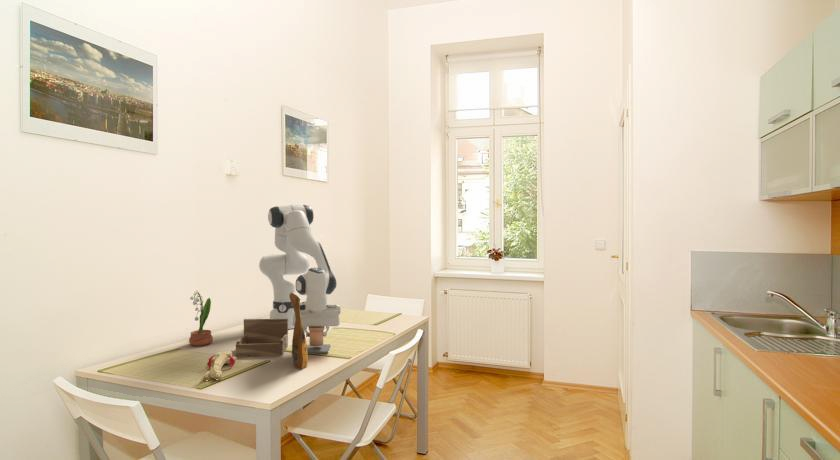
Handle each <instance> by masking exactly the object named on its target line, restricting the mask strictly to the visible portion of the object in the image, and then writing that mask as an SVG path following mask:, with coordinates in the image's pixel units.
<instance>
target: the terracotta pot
mask: <svg viewBox="0 0 840 460" xmlns="http://www.w3.org/2000/svg"><path fill="white" fill-rule="evenodd" d="M324 330H325V326H321V327H308V331H309V332H310V334H309V337H308V338H309V341H308V343H309V344H308V345H310V346H322V345H323V344H324V337H323V332H324Z"/></svg>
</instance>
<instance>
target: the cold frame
mask: <svg viewBox="0 0 840 460" xmlns="http://www.w3.org/2000/svg"><path fill="white" fill-rule="evenodd" d="M235 343H236V344H235V357H238V358H239V357H240V358H241V357H273V356H274V357H278V356H280V357H281V356H283V355H284V353H285V352H286V350H287V349H288V346H289V329H288V318H284V319H270V318H244V319H243V335H242V336H241V337H239V339H238V340H236V342H235ZM286 348H287V349H286Z"/></svg>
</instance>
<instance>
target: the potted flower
mask: <svg viewBox="0 0 840 460" xmlns="http://www.w3.org/2000/svg"><path fill="white" fill-rule="evenodd" d="M189 299H190V300H193V301H192V305H194V306H195V305H196V306H199V305H200V309H199V307H195V310H194V311H197V313H196V317H194V321H196V322H197V321H199V327H198V329H197V330H193V331H191V332H190V337H189V339H188V343H189V345H191V346H194V347H200V346H201V347H202V346H207V345H210V344H211V343H213V340H214V339H213V338H214V337H213V336H212V330H210V329H204V326H205V324H206V321H207V319H208V317H209V315H210V311H211V307H212V306H211V305H212V304H211V303H212V301H211V298H210V297H208V298H207V299H206V301H205V304H204V300H203V296H202V295H201V293H200V292H199V291H198V290H196V291H194V293H193V295H192V296H190V297H189ZM198 302H200V303H198ZM199 312H200V314H199V317H198V313H199Z"/></svg>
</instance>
